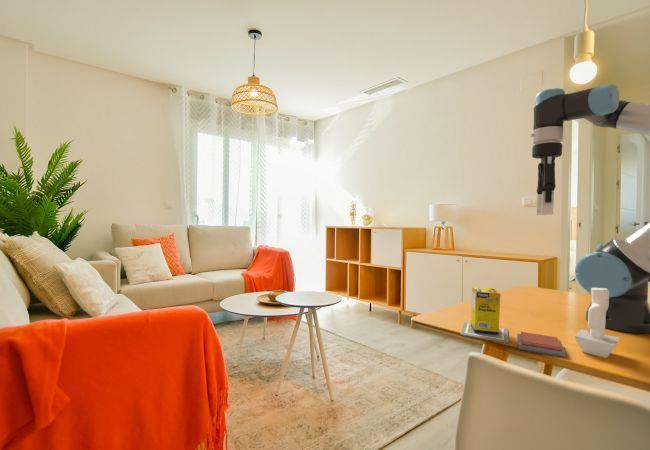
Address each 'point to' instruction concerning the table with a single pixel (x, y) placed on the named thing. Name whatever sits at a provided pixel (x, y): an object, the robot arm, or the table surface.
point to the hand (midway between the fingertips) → (544, 214)
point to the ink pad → (540, 344)
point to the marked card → (469, 331)
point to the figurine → (597, 327)
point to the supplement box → (485, 310)
